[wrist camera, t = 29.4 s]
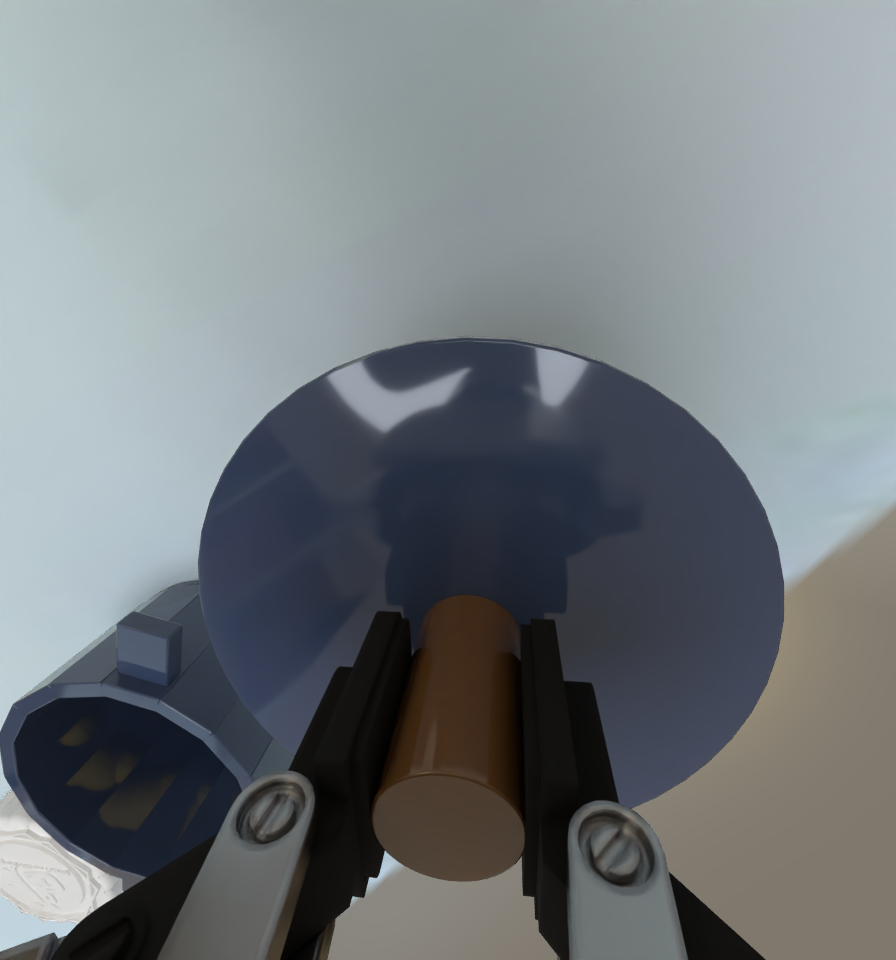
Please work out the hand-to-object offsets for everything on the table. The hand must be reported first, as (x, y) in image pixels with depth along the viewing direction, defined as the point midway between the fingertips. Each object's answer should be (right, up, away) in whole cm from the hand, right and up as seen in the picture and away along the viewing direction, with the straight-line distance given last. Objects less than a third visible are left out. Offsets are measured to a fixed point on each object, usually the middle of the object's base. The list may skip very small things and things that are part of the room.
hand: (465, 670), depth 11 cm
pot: (-15, -8, +20) cm, 26 cm away
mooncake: (-31, -24, +28) cm, 48 cm away
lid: (0, +1, +2) cm, 2 cm away
